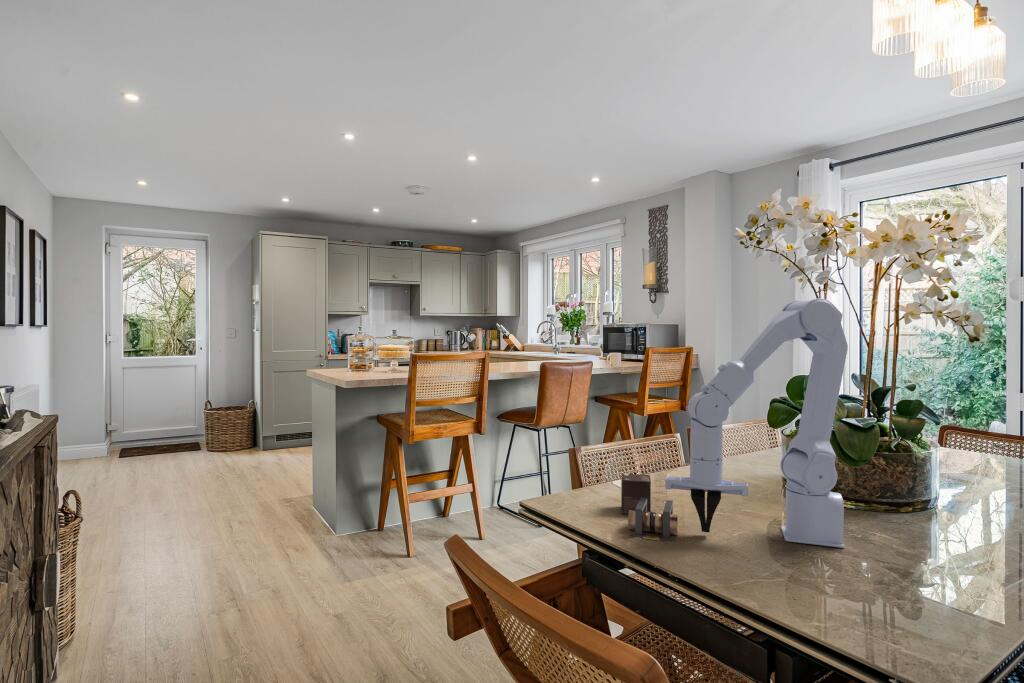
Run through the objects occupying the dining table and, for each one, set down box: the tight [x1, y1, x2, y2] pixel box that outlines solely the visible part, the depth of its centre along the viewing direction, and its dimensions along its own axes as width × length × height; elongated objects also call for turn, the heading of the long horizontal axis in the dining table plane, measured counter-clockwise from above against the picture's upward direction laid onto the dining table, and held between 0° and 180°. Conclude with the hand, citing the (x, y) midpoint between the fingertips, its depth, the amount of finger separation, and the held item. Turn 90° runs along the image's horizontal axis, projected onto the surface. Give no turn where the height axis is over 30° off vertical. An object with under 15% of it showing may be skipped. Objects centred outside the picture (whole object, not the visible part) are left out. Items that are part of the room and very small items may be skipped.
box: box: [620, 473, 652, 516], centre depth 124 cm, size 6×6×7 cm
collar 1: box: [629, 498, 648, 538], centre depth 113 cm, size 3×9×5 cm, turn 161°
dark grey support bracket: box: [656, 499, 676, 542], centre depth 111 cm, size 3×9×5 cm, turn 160°
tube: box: [627, 510, 679, 536], centre depth 111 cm, size 9×4×4 cm, turn 71°
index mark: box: [642, 535, 661, 542], centre depth 107 cm, size 3×1×1 cm, turn 71°
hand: (705, 530), depth 109 cm, fingers closed
